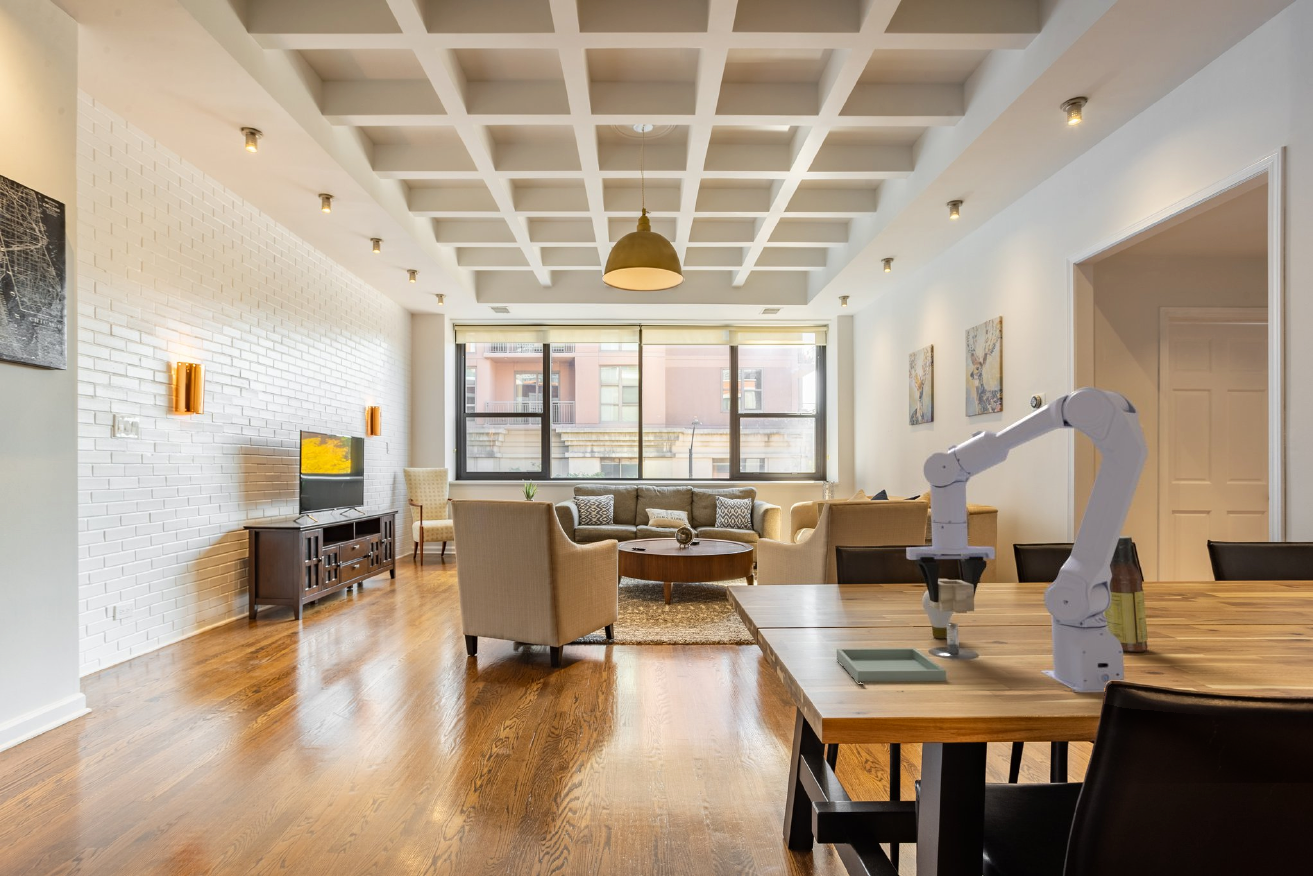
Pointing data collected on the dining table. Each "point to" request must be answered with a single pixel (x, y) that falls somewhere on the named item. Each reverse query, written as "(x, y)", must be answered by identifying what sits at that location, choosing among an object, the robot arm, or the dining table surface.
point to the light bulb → (936, 618)
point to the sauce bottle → (1126, 600)
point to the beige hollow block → (954, 596)
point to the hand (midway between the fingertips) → (951, 601)
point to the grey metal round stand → (953, 646)
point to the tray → (889, 665)
